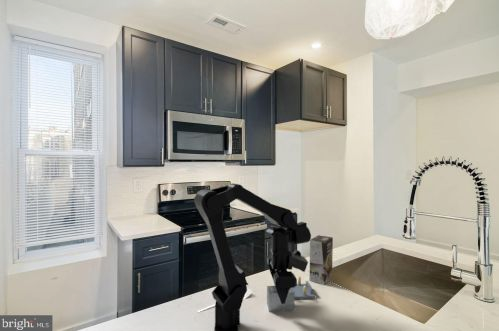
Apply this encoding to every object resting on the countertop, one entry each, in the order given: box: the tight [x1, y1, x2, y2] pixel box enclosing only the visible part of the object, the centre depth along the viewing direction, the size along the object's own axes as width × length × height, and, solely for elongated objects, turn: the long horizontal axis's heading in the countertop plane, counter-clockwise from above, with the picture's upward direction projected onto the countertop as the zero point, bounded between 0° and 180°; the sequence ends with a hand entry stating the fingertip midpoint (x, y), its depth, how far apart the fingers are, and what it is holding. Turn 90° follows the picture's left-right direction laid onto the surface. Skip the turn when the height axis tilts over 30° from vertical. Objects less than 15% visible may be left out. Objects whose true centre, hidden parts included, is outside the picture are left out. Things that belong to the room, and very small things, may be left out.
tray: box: [293, 275, 317, 300], centre depth 91 cm, size 12×9×4 cm
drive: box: [266, 285, 296, 313], centre depth 81 cm, size 8×4×6 cm, turn 94°
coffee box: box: [308, 234, 334, 285], centre depth 101 cm, size 9×6×16 cm
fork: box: [196, 287, 253, 313], centre depth 84 cm, size 3×20×2 cm, turn 123°
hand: (280, 295), depth 81 cm, fingers open, 9 cm apart
